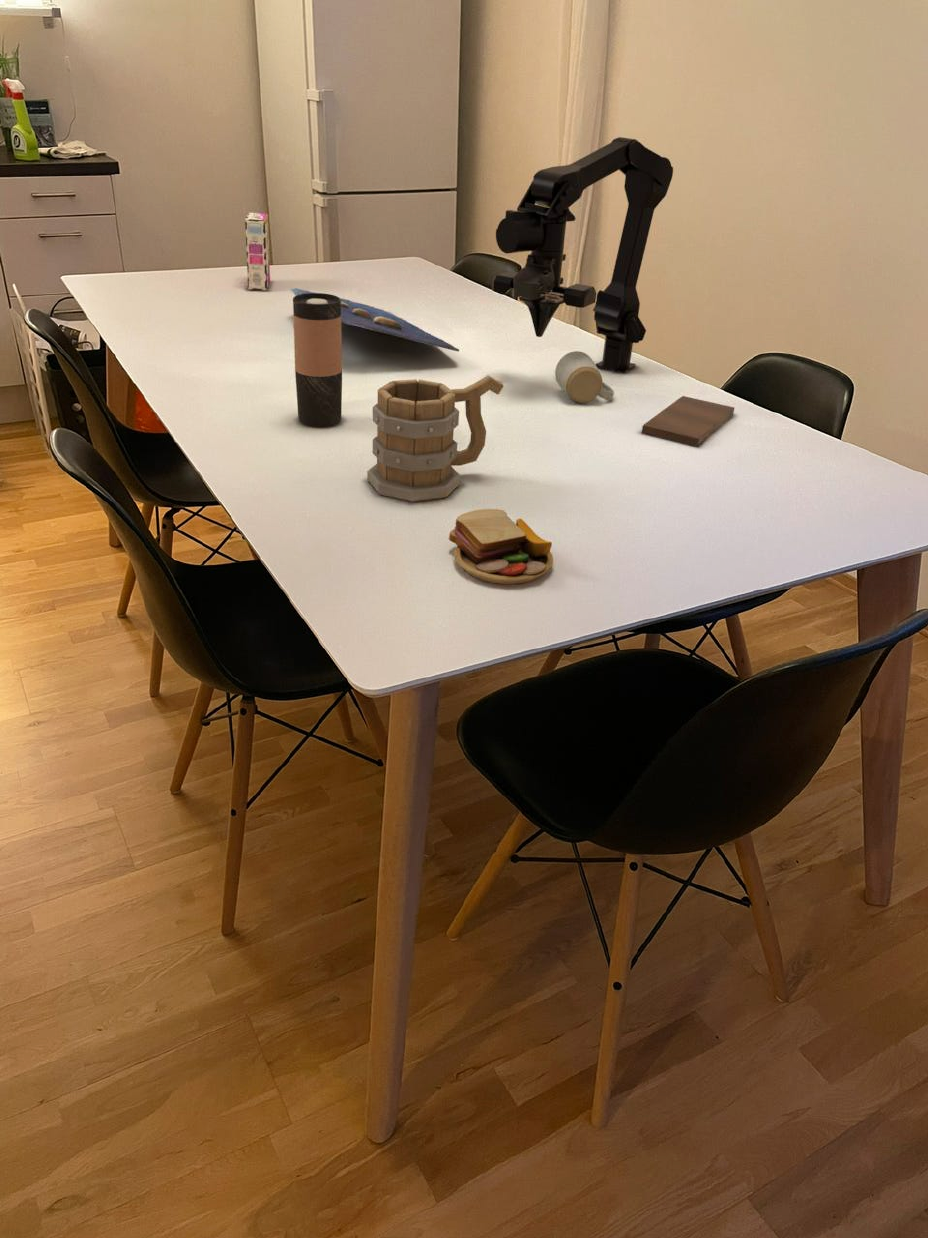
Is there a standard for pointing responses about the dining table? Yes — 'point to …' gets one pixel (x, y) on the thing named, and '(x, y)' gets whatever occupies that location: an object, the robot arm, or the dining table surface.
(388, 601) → the dining table surface
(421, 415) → the tankard
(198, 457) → the dining table surface
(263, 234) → the candy bar box
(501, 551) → the toy sandwich meal
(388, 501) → the dining table surface
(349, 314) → the serving platter
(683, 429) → the walnut board
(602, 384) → the ceramic mug
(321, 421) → the travel mug
